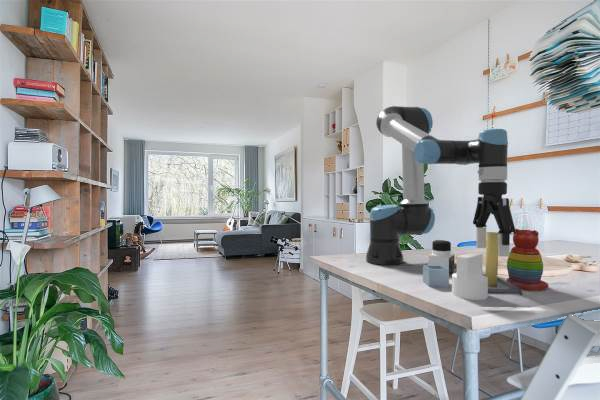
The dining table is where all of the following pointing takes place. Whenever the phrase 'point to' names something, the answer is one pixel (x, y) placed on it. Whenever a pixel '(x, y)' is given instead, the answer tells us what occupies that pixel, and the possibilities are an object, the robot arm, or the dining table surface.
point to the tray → (504, 287)
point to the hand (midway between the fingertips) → (491, 251)
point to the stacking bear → (526, 262)
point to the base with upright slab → (470, 278)
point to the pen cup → (436, 275)
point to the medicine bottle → (442, 255)
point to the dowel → (492, 258)
